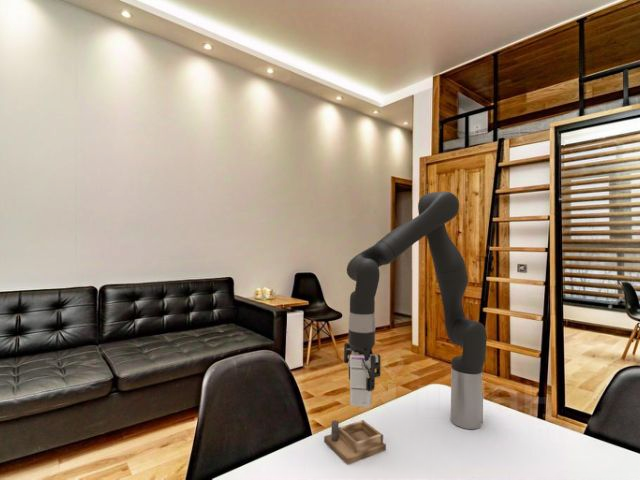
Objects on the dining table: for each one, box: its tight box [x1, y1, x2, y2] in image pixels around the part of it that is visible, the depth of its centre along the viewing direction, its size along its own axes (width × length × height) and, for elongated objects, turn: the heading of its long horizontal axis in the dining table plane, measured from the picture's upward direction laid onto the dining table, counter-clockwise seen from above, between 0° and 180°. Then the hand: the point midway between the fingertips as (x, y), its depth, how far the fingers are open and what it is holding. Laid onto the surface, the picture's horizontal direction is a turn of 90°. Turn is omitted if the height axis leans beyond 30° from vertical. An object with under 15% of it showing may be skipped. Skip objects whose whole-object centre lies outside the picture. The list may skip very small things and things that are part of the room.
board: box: [323, 419, 387, 465], centre depth 103 cm, size 13×12×6 cm
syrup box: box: [349, 352, 373, 409], centre depth 103 cm, size 6×6×14 cm
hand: (360, 384), depth 103 cm, fingers closed on syrup box, 8 cm apart
